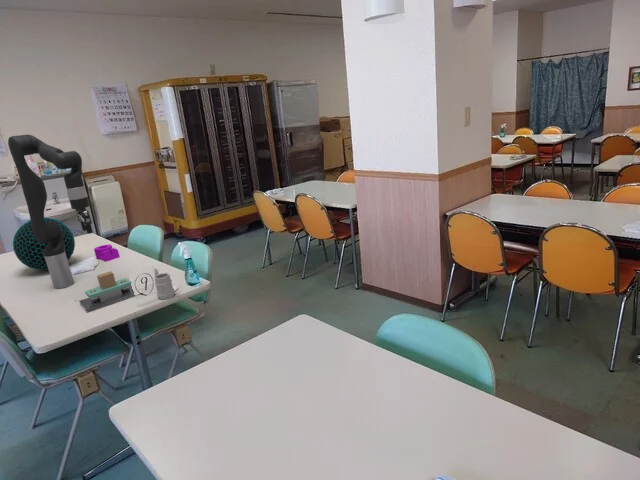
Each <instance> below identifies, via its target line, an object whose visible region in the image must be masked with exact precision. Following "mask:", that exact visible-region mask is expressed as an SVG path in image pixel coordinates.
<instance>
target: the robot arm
mask: <svg viewBox="0 0 640 480" xmlns="http://www.w3.org/2000/svg"><path fill="white" fill-rule="evenodd" d="M7 143H8V148H9V152H10V154H11V157H12V160H13V162H14V165H15V167H16V170H17V173H18V176H19V177H18V178H19V181H20V186H21V188H22V192H23V195H24V200H25V202H26V206H27V210H28V214H29V221H30V220H31V226H32V232H33V235H34V238H35V239H36V240H37V241H38V242H39V243H42V244H44V243H47V242H48V245H47V247H46V248H45V249H44V250H43V254H44V257H45V260H46V263H47V266H48V269H49V270H48V272H49V276H50V278H51V281H52V285H53V288H54V289H56V290H57V289H64V288H65V289H66V288H68V287H70V286H73V285H74V284H75V280H74V277H73V273H72V270H71V267H70V263H69V260H67V257H66V253H65V250H64V247H65V244H64V239H63V235H62V231H61V228H60V226H59V225H58V224H57V223H56V222H54V221H49V222H46V223H45V219H44V218H45V208H46V205H47V201H48V200H47V199H48V194H47V193H48V192H47V189H46V186H45V183H44V181H43V179H42V178H41V177H40V176H39V175H38V174H37V173H36V172H34V170H32V168H31V167H30V166H29V164H28V162H27V160H26V157H25V156H31V155H35V154H36V155H37V154H38V155H39V157H40V158H41V159H42V160H44V161H46V162H48V163H51V164H53V166H54V167H56V168H57V169H59V170H69V169H71V171H70V172H69V173H67V174H66V175H64V176H63V180H64V184H65V188H66V192H67V196H68V201H69V205H70V208H71V209H72V210H75V212H76V216H77V218H78V222H79V223H80V226H81V228H82V231H83V232H86V233H87V234H88V235H89V234H92V233H93V229H92V227H93V226H92V224H93V221H92V218H91V216H90V212H89V210H87V208H88V207H90V206H91V203H90V200H89V197H88V192H87V190H86V187H85V183H84V179H83V171H82V170H83V169H82V167H83V160H82V159H83V158H82V156H81V155H80V153H79V152H77V151H76V150H70V151H69V150H68V151H63V150H62V149H61V148H57V147H55V146H53V145H49V144H47V143H45V142H44V141H42V140H41V139H39V138H38V137H36V136H34V135H32V134H20V135H18V134H17V135H11V136H9V137H8V140H7Z"/></svg>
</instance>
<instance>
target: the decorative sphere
mask: <svg viewBox="0 0 640 480" xmlns="http://www.w3.org/2000/svg"><path fill="white" fill-rule="evenodd" d="M44 219H45V223H46V222H49V221H54V222H56V223H57V224H58V225H59V226H60V228H61V231H62V235H63V239H64V244H65V247H64V250H65V253H66V257H67V260H68V261H69V260H70V259H71V257H72V255H73V254H74V252H75V248H76V241H75V240H76V239H75V237H74V234H73V232H72V230H71V229H70V228H69V227H68V226H67V225H66V224H65V223H63V222H61V220H58V219H56V218H52V217H44ZM47 245H48V242H47V243H44V244H42V243H39V242H38V241H37V240H36V239H35V238H34V235H33V232H32V226H31V220H30V219H29V220H28V221H26V222H24V223H23V224H22V225H20V227H18V229H17V230H16V232H15V233H14V235H13V240H12V248H13V252H14V255H15V257H16V258H17V259H18V261H20V262H21V263H22V264H23V265H24V266H26V267H28V268H30V269H34V270H38V271H49V269H48V266H47V263H46V260H45V257H44V254H43V250H44V249H45V248H46V247H47Z"/></svg>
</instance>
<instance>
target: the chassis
mask: <svg viewBox="0 0 640 480" xmlns="http://www.w3.org/2000/svg"><path fill="white" fill-rule="evenodd" d="M123 282H124V280H123V281H122V283H123ZM92 292H95V291H94V290H92ZM134 297H136V296H135V295H134V291H133V289H132V286H128V287H125V288H122V289H119V290H116V291H113V292H109V293H106V294H103V295H100V296H97V297H94V298H91V299H90V298H89V297H87V298H86V297H85V298H84V299H81V300H78V302H79V304H80V306H81V307H82V308H83V309H84V310H85V311H86V313H90V312H95V311H96V310H99V309H102V308H104V307H108V306H111V305H114V304H116V303H120V302H122V301H125V300H128V299H131V298H134Z"/></svg>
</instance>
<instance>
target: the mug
mask: <svg viewBox="0 0 640 480" xmlns="http://www.w3.org/2000/svg"><path fill="white" fill-rule="evenodd" d="M153 271H154V282H155V283H154V285H155V286H156V287H155V288H156V296H157V298H158V299H159V298H160V299H159V300H168V298H169V299H171V298H173V297H174V296H175V295H174V294H175V293H176V291H175V289H174V287H173V280H172V279H171V275H170V273H168V272H163V273H159V271H158V268H157V267H156V268H154V269H153Z"/></svg>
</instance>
